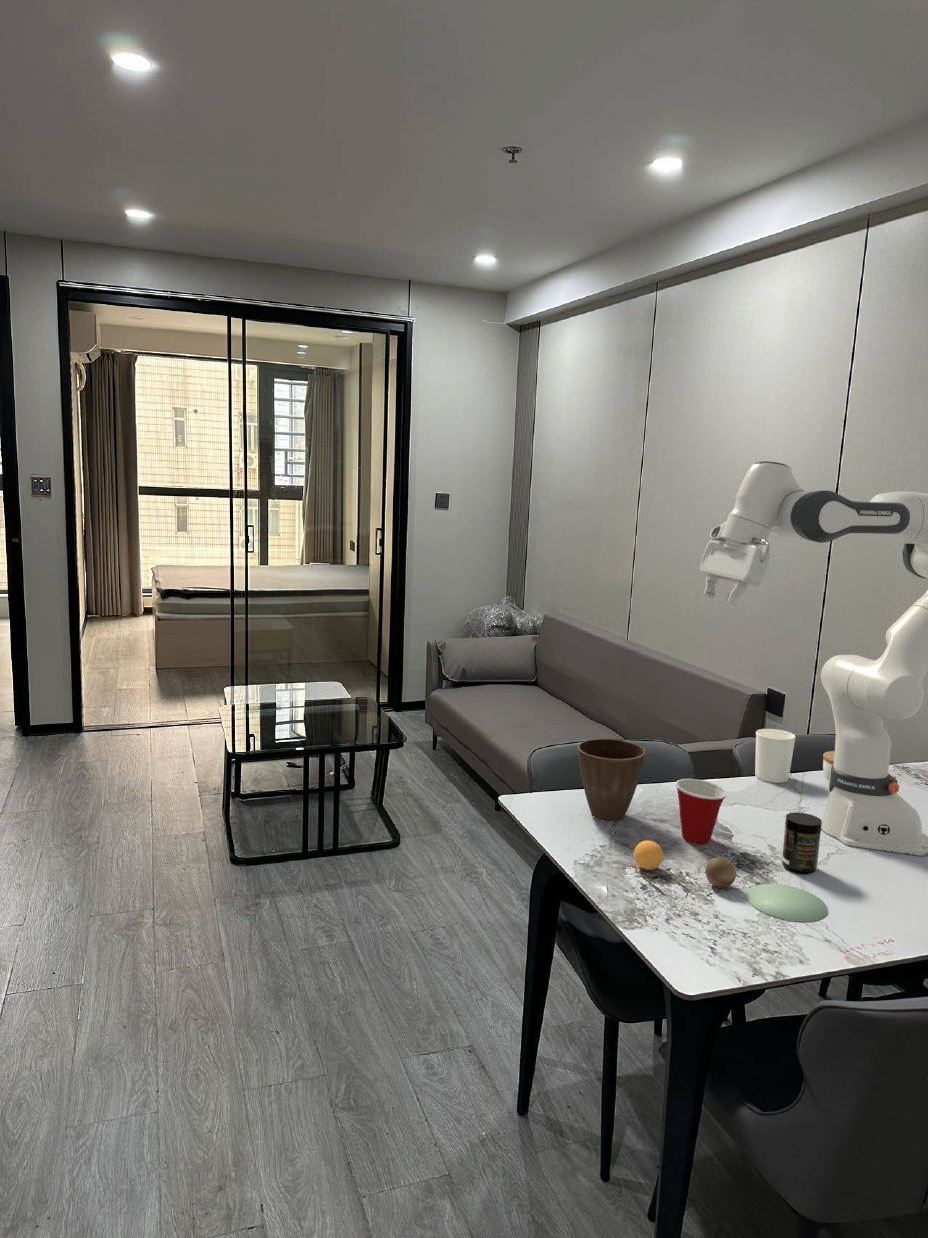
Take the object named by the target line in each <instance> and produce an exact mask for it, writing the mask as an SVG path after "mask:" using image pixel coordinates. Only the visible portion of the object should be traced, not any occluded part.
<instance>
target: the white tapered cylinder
mask: <svg viewBox="0 0 928 1238" xmlns="http://www.w3.org/2000/svg"><path fill="white" fill-rule="evenodd" d="M795 741H796V735H795V734H794V733H792V732H789V731H786V730H783V729H777V728H775V729H774V728H761V729H757V730H756V731H755V757H754V758H755V761H754V763H755V764H754V772H755V773H754V775H755V778H756V779H758V780H760V781H763V782H767V783H773V784H774V783H775V784H782V783H786V782H788V781H789V777H790V773H791V771H790V770H791V767H792V759H793V752H794V748H795Z"/></svg>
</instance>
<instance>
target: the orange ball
mask: <svg viewBox="0 0 928 1238" xmlns="http://www.w3.org/2000/svg"><path fill="white" fill-rule="evenodd" d="M633 858H634V860H635V863H636V864H637V865H638V866H639V867H640V868H641V869H643V870H646V871H652V870H656V869H657V868H659V867H660V866H661V864H662V863H663V860H664V859H663V858H664V852H663V850H662V848H661V846H660V844H658V843H657V842H655V841H652V840H648V839H647V840H643V841H641V842H639V843H638V844H637V845H636V846H635V848H634V851H633Z"/></svg>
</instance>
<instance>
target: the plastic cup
mask: <svg viewBox="0 0 928 1238" xmlns="http://www.w3.org/2000/svg"><path fill="white" fill-rule="evenodd" d="M675 787H676V790H677V798H678V806H679V807H678V808H679V816H680V817H679V820H680V821H679V823H680V825H681V835H682V839H683V840H684V841H685V842H687V843H690V844H693V845H708V844H710V841H711V840H712V836H713V831H714V829H715V826H716V822H717V819H718V816H719V812H720V809H721V806H722V803H723V801H724V799H726V798H727V796H728V791H727V790H726V789H725V788H724V787H722V786H720V785H718V784H715V783H713V782H711V781H707V780H702V779H695V778H682V779H679V780H676V782H675Z"/></svg>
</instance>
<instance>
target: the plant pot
mask: <svg viewBox="0 0 928 1238" xmlns="http://www.w3.org/2000/svg"><path fill="white" fill-rule="evenodd" d="M577 749H578V757H579V758H578V760H579V767H580V768H579V769H580V775H581V781H582V785H583V790H584V794H585V797H586V800H587V801H586V802H587V805H588V808H589V810H590V814H591V816H592V817H593V816H594V817H595V818H594V817H593V818H594V819H596V818H597V819H596V820H598V819H600V820H599V821H602V820H603V821H602V822H608V821H614V822H619V821H621V820H623V819H624V818H625V816H626V814H627V812H628V809H629V807H630V806H631V803H632V801H633V799H634V798H633V797H634V795H635V792H636V790H637V786H638V783H639V779H640V776H641V773H642V769H643V765H644V759H645V754H646V750H645V748H644V747H642V746H640V745H638V744H637V743H634V742H630V741H625V740H621V739H613V738H612V739H610V738H598V739H595V738H594V739H589V740H585V741H581V742H580V743H579V744H578V748H577Z"/></svg>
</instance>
